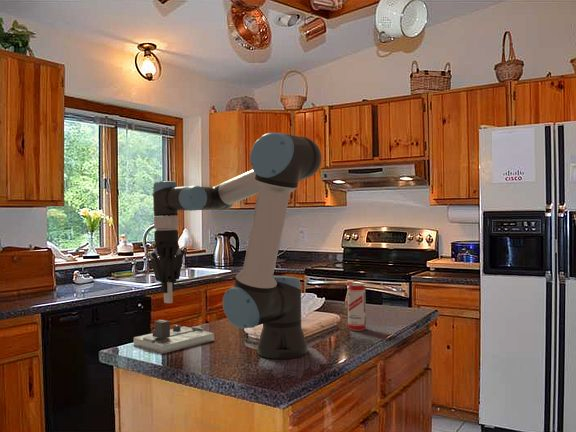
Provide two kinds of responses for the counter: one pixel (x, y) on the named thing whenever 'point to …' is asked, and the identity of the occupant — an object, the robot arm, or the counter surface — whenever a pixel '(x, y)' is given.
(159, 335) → the fader tab
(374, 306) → the counter surface
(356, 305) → the beer can
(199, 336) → the console
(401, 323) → the counter surface
